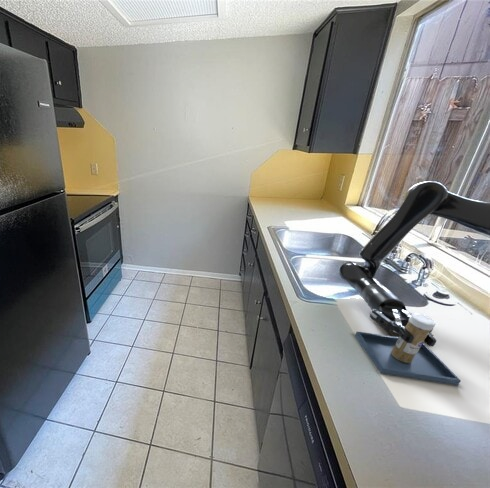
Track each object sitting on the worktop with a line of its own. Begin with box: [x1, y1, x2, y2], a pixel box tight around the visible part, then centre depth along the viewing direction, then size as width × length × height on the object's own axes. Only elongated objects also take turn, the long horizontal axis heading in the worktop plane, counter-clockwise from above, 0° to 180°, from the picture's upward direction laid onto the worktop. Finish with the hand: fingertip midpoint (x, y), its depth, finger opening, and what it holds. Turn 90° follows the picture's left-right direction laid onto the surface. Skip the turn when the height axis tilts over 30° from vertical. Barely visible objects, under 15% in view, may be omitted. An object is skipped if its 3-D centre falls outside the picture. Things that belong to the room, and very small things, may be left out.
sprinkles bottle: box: [391, 312, 436, 363], centre depth 67 cm, size 5×5×13 cm
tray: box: [354, 331, 462, 386], centre depth 70 cm, size 17×13×2 cm
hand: (421, 342), depth 64 cm, fingers closed on sprinkles bottle, 4 cm apart
